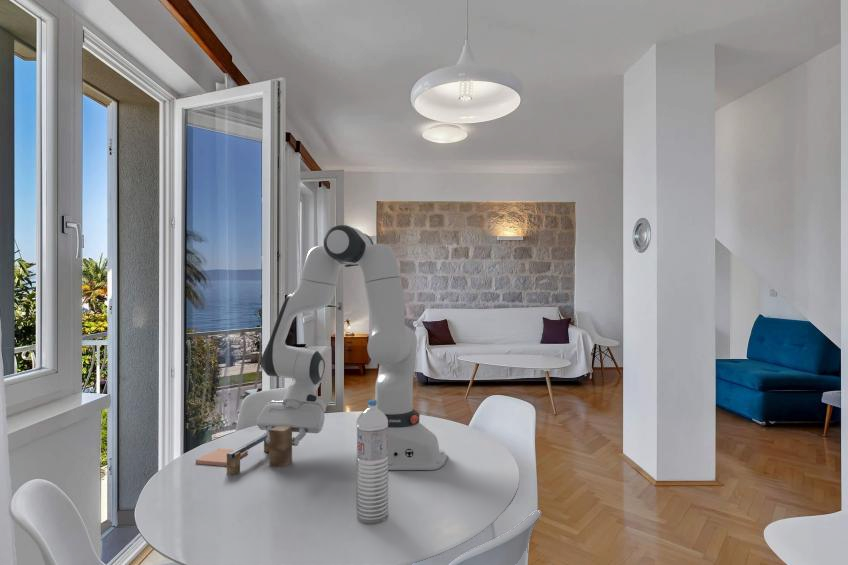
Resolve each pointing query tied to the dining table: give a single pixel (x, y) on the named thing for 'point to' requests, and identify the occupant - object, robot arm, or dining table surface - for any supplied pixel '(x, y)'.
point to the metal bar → (248, 446)
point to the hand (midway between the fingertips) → (281, 444)
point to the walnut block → (280, 446)
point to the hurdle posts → (234, 463)
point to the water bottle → (372, 465)
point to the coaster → (217, 457)
